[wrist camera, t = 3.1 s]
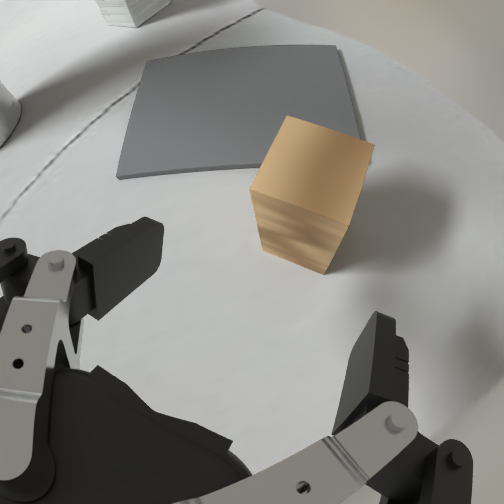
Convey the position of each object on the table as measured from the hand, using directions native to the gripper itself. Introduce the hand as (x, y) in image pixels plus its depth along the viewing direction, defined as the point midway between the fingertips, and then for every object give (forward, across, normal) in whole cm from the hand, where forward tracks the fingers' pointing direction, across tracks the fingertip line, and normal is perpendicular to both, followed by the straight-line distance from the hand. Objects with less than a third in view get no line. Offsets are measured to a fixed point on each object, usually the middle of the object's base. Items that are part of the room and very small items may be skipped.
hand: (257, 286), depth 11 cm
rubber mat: (+19, +10, -4) cm, 22 cm away
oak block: (+12, 0, +3) cm, 12 cm away
